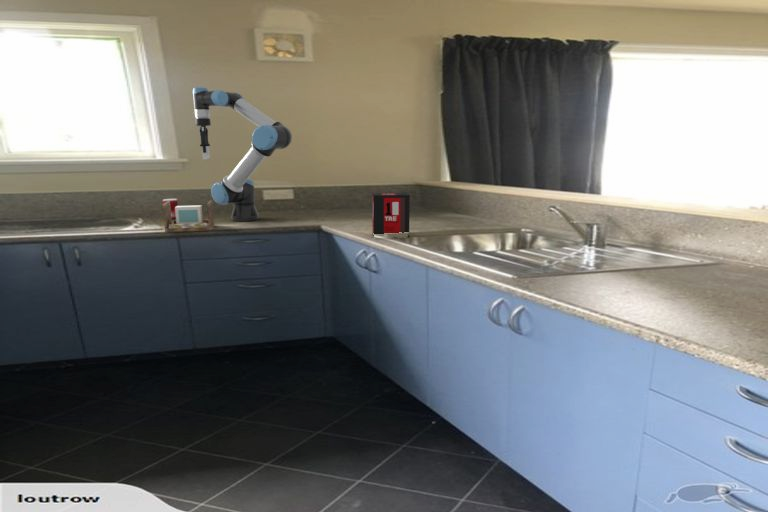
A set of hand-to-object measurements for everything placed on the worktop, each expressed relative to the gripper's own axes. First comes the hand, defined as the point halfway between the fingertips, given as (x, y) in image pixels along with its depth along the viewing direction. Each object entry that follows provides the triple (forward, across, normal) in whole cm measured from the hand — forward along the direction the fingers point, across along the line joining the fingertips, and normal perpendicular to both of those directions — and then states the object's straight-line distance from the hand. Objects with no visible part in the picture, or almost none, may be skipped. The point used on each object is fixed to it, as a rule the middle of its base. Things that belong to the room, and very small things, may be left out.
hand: (206, 158), depth 270 cm
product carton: (+33, +20, -9) cm, 40 cm away
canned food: (+34, -19, -23) cm, 45 cm away
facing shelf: (+34, +20, -9) cm, 41 cm away
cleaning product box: (+36, +68, +84) cm, 114 cm away
